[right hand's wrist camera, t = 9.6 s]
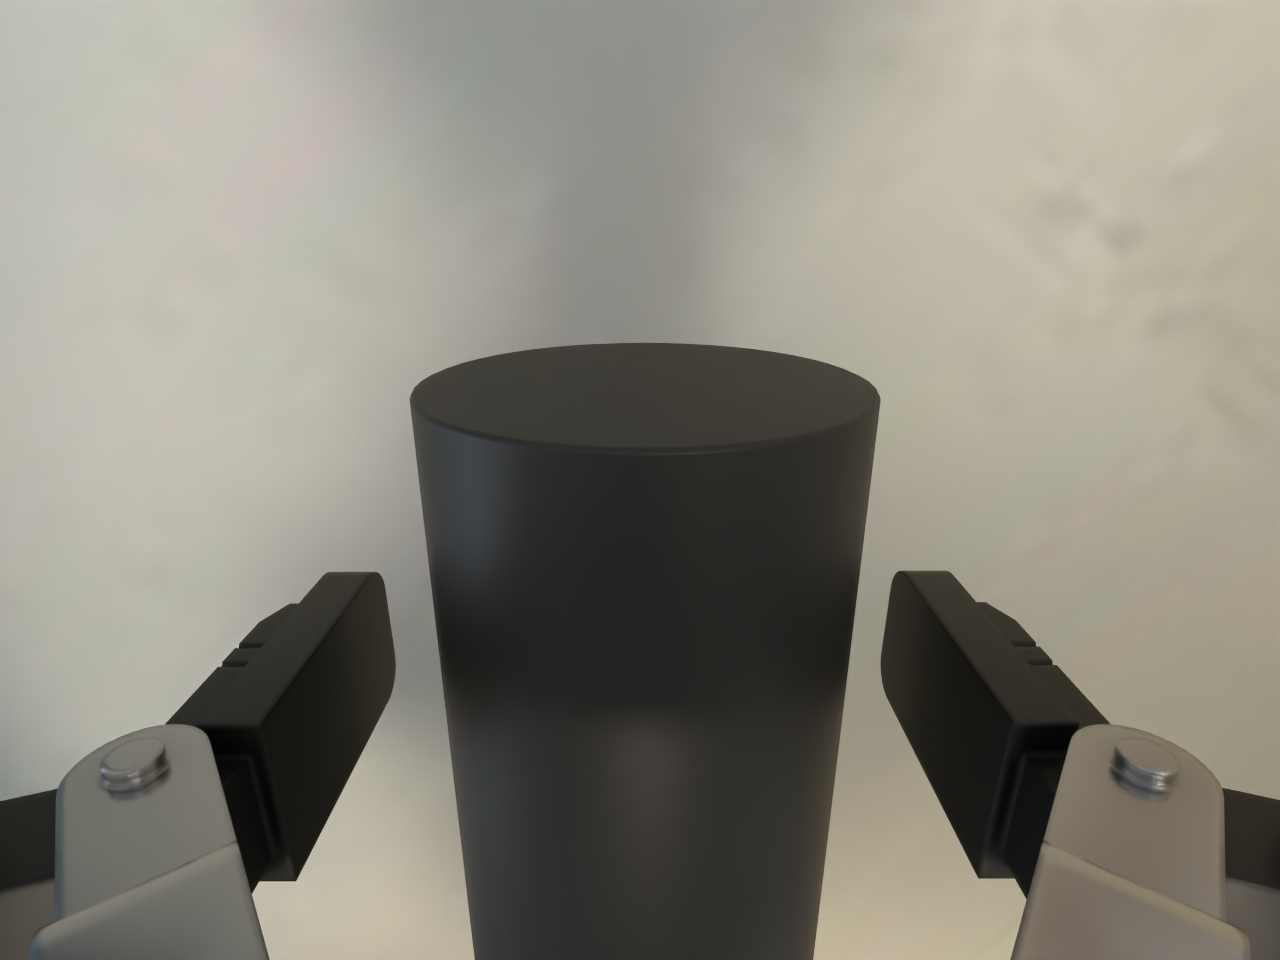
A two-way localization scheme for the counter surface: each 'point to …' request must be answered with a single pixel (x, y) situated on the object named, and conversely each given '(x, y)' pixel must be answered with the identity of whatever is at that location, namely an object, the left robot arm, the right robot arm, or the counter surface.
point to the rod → (644, 639)
